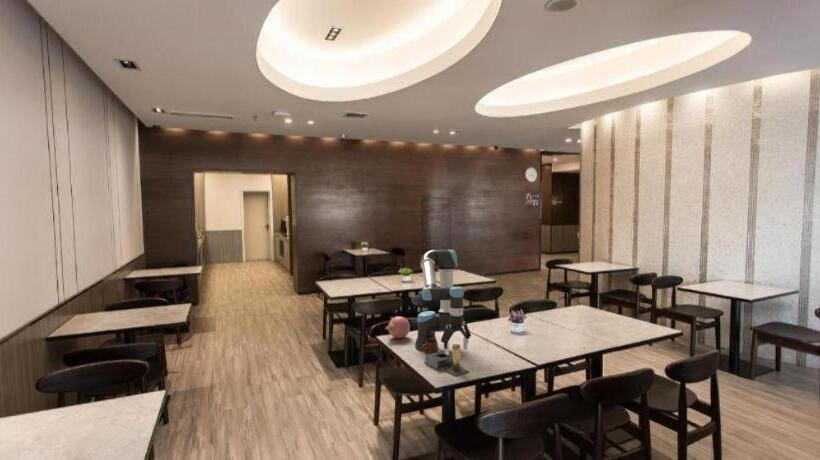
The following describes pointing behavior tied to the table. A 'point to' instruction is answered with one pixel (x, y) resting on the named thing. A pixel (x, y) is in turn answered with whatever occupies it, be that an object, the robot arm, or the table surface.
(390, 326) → the balloon
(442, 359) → the housing
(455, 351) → the gold metal cylinder
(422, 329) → the robot arm
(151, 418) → the table surface
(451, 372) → the mat
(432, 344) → the mug
